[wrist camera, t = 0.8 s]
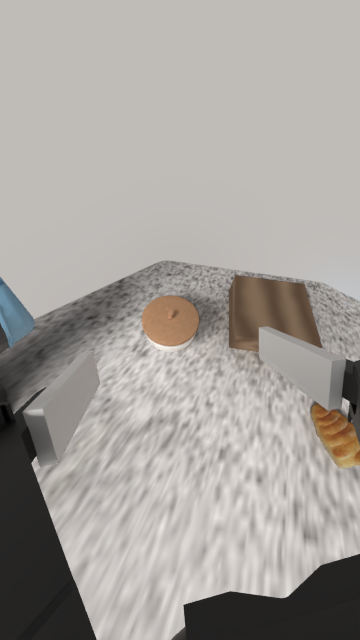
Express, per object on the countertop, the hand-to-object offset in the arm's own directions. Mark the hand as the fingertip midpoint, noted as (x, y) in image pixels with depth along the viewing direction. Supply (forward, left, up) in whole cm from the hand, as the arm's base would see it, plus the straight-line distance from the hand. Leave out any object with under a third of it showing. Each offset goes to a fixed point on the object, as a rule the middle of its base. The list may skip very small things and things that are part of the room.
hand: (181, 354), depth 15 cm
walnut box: (+18, +20, -24) cm, 36 cm away
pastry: (+28, -2, -24) cm, 37 cm away
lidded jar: (-3, +13, -24) cm, 27 cm away
